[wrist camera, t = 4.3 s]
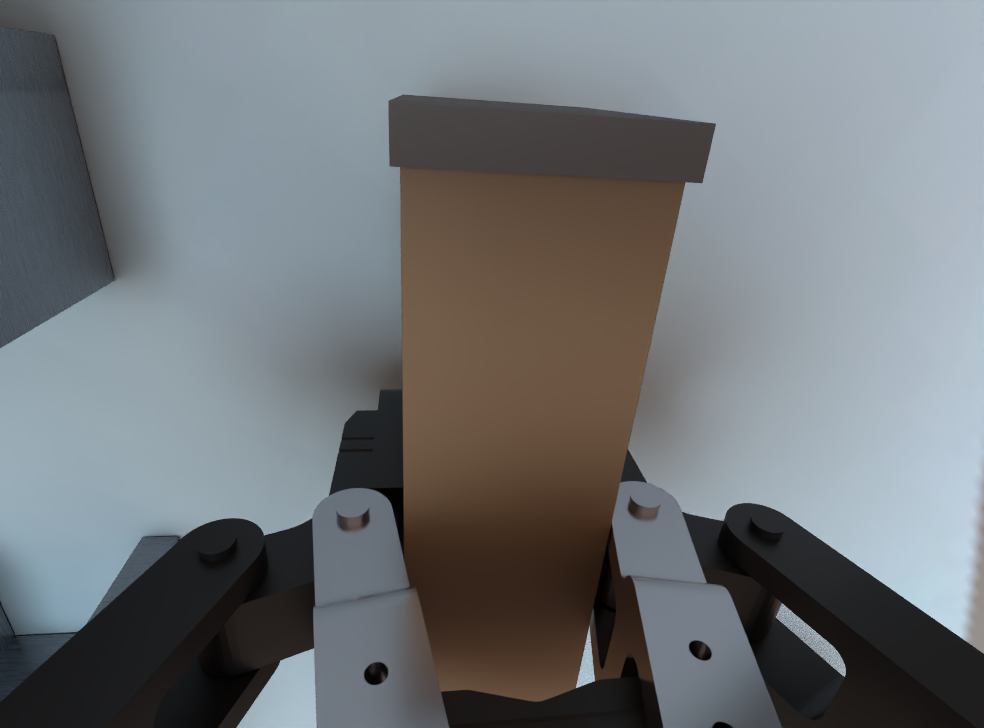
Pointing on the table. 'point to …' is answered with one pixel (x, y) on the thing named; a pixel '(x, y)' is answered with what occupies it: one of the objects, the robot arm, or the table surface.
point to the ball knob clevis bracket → (46, 257)
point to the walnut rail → (524, 364)
